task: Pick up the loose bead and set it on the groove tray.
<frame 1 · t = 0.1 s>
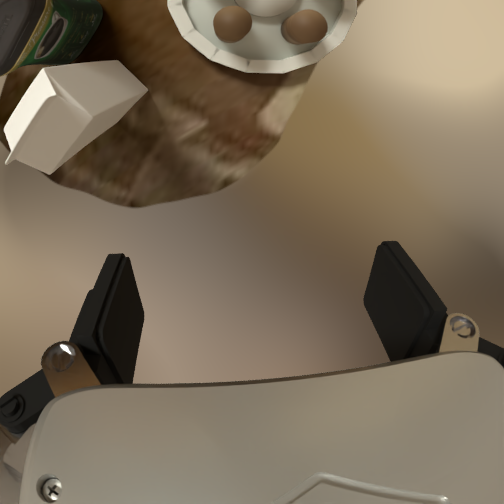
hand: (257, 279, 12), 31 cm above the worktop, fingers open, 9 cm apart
brown round peg 1: (296, 30, 31), point 1 cm above the worktop, touching groove tray
coffee jar: (71, 28, 28), on the worktop
milk: (117, 91, 34), on the worktop
seated bead 4: (230, 28, 30), point 1 cm above the worktop, touching groove tray
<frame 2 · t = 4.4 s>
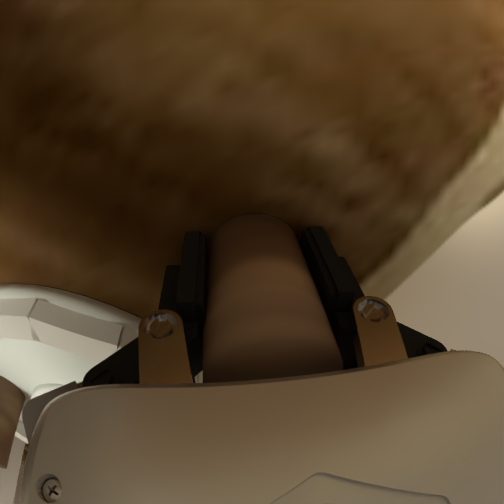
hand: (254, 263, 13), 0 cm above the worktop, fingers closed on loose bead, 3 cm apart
groove tray: (83, 401, 19), on the worktop
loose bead: (253, 255, 13), on the worktop, touching gripper
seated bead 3: (3, 387, 16), point 1 cm above the worktop, touching groove tray
milk: (0, 431, 24), on the worktop
when the fingers open (2 cm above the worktop, at t = 9.4 s): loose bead stays where it is, resting on groove tray.
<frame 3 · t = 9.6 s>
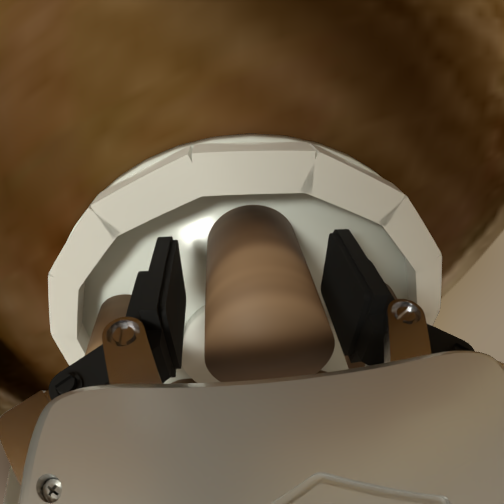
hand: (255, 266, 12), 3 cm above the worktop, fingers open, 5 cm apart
groove tray: (249, 329, 18), on the worktop
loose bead: (251, 244, 14), point 1 cm above the worktop, touching groove tray
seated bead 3: (133, 321, 16), point 1 cm above the worktop, touching groove tray
seated bead 2: (362, 307, 17), point 1 cm above the worktop, touching groove tray
milk: (61, 410, 24), on the worktop
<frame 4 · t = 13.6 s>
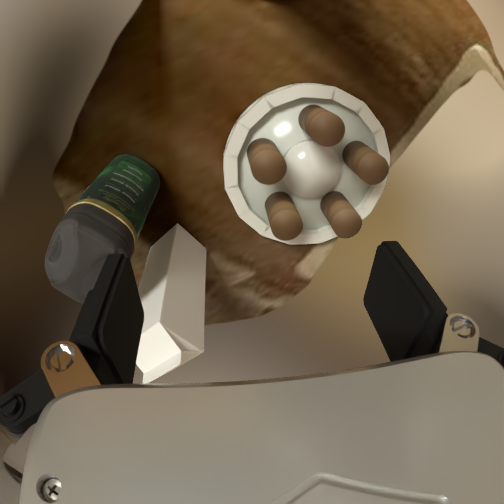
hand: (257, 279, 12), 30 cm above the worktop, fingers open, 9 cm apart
groove tray: (307, 165, 41), on the worktop
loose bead: (313, 119, 37), point 1 cm above the worktop, touching groove tray
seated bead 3: (262, 152, 39), point 1 cm above the worktop, touching groove tray
brown round peg 1: (333, 203, 43), point 1 cm above the worktop, touching groove tray
seated bead 2: (355, 154, 40), point 1 cm above the worktop, touching groove tray
coffee jar: (127, 186, 40), on the worktop
milk: (178, 247, 46), on the worktop
seated bead 4: (278, 204, 43), point 1 cm above the worktop, touching groove tray
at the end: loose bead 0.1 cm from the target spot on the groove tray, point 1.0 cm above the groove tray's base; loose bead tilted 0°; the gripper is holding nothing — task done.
